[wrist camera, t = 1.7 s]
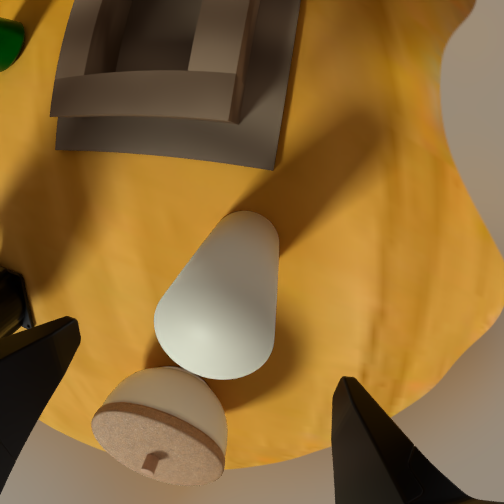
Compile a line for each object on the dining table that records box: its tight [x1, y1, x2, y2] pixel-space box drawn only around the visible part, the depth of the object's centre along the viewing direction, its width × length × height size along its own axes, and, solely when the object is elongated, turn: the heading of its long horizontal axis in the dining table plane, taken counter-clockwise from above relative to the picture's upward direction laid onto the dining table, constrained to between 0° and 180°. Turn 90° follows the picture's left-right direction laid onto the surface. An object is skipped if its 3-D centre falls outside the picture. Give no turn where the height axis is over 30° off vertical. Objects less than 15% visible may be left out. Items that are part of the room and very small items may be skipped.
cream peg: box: [154, 211, 279, 380], centre depth 15 cm, size 4×4×10 cm
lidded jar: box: [92, 366, 228, 486], centre depth 21 cm, size 11×11×9 cm
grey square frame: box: [50, 0, 301, 171], centre depth 14 cm, size 16×16×4 cm
